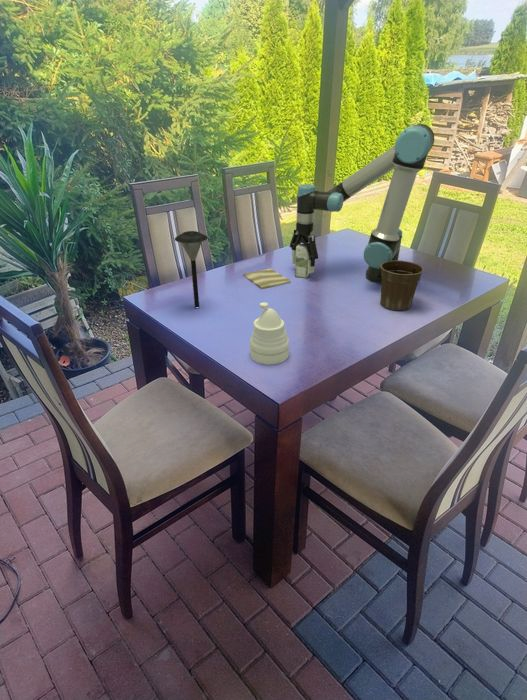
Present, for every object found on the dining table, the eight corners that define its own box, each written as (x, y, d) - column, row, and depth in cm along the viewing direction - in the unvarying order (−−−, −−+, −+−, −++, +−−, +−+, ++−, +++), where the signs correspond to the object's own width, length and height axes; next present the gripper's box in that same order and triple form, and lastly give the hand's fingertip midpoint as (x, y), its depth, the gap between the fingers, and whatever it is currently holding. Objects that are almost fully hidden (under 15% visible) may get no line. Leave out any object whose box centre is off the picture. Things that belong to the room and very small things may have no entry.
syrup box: (309, 274, 210) (311, 244, 202) (306, 278, 205) (308, 247, 197) (298, 272, 211) (299, 242, 204) (294, 277, 206) (295, 246, 199)
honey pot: (244, 360, 144) (242, 310, 135) (258, 341, 155) (258, 294, 145) (281, 367, 140) (282, 317, 131) (293, 348, 151) (295, 300, 142)
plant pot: (384, 293, 190) (390, 257, 182) (421, 302, 182) (429, 265, 174) (368, 306, 179) (373, 268, 171) (407, 317, 171) (415, 277, 163)
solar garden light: (205, 316, 172) (199, 239, 156) (176, 312, 175) (168, 236, 159) (217, 303, 182) (212, 230, 166) (189, 299, 185) (183, 227, 169)
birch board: (290, 282, 200) (290, 280, 200) (261, 289, 194) (261, 287, 194) (270, 270, 214) (270, 268, 213) (243, 275, 208) (243, 273, 207)
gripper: (282, 216, 203) (281, 261, 214) (313, 230, 184) (310, 278, 195) (296, 214, 206) (295, 258, 217) (328, 227, 187) (324, 275, 198)
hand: (302, 268), depth 206 cm, fingers open, 13 cm apart
